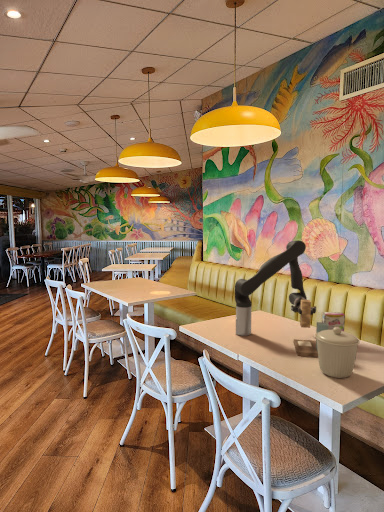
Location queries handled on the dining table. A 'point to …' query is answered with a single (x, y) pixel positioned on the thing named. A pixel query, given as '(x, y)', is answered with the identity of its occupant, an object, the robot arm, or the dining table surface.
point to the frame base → (309, 343)
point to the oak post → (305, 313)
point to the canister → (336, 352)
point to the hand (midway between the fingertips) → (306, 313)
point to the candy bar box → (334, 320)
